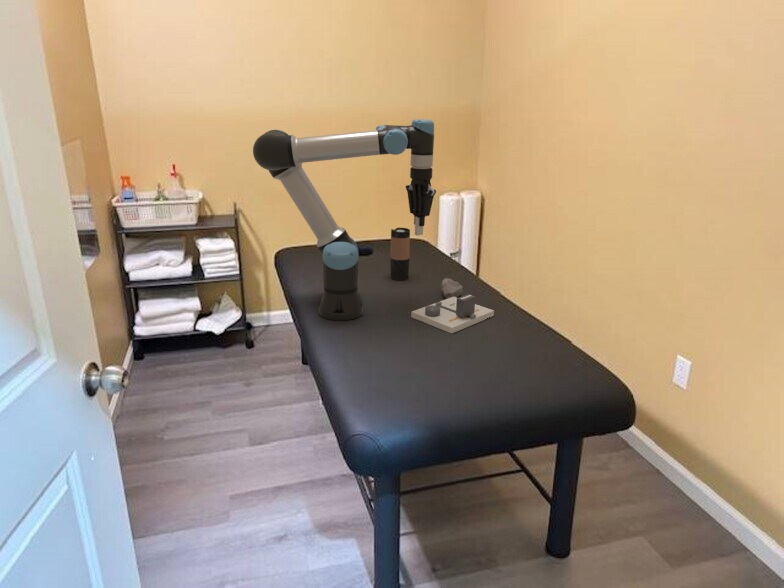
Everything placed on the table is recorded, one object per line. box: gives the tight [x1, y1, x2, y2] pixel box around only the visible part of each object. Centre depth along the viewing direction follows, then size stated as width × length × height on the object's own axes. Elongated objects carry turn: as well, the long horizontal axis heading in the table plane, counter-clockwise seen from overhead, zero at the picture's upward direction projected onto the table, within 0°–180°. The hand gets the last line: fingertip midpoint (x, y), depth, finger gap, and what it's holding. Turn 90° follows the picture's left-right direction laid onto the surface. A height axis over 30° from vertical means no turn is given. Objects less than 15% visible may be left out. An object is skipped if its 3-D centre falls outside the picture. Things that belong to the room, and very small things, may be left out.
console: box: [410, 297, 495, 334], centre depth 194 cm, size 22×18×4 cm
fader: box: [456, 293, 476, 318], centre depth 189 cm, size 6×3×6 cm, turn 134°
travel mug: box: [389, 227, 411, 282], centre depth 229 cm, size 8×8×20 cm
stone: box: [441, 277, 464, 299], centre depth 213 cm, size 8×10×6 cm
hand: (418, 234), depth 202 cm, fingers closed
